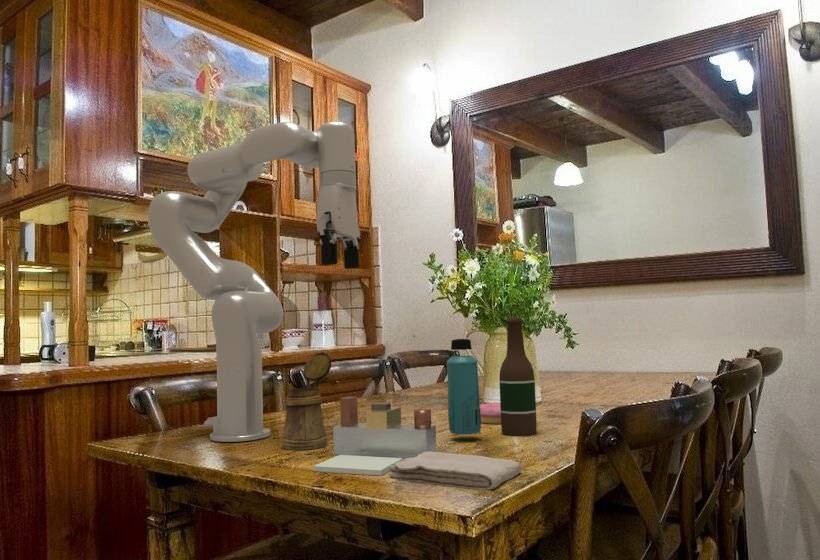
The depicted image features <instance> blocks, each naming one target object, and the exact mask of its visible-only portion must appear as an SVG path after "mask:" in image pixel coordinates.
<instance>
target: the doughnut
mask: <svg viewBox="0 0 820 560" xmlns="http://www.w3.org/2000/svg"><path fill="white" fill-rule="evenodd" d="M480 414H481V424H489V425H501V408H500V402H495V401H493V402H490V403H482V404H480Z"/></svg>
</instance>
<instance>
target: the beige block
mask: <svg viewBox="0 0 820 560" xmlns="http://www.w3.org/2000/svg"><path fill="white" fill-rule="evenodd" d="M370 408H371V409H370V410H367V411H365V423H366V429H389V428H392V427H394V426H396V425H399V424H402V411H401V406H392V405H391V402H374V403H371V404H370Z"/></svg>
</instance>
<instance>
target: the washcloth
mask: <svg viewBox="0 0 820 560" xmlns="http://www.w3.org/2000/svg"><path fill="white" fill-rule="evenodd" d="M521 470H522V465H520V462H517V461H516V460H513V459H512V460H511V459H508V458H507V459H506V458H496V457H495V458H493V457H488V456H484V455H475V454H474V455H473V454H462V453H457V454H456V453H448V452H440V451H436V452H432V451H429V452H423V453H422V454H419V455H418V456H417V457H414V458H403V460H401V461H399V462H397V463H395V465H391V466H390V471H388V476H389V477H391V478H394V479H397V480H400V481H407V482H414V483H421V484H422V483H423V484H430V485H438V486H446V487H456V488H457V487H458V488H463V489H472V490H479V491H489V490H494V489H495V488H497V487H499V486H500V485H501V484H503V483H504V482H507V481H510V480H511V479H513V478H515V477H516V476H518V475H519V474H520V473H521Z"/></svg>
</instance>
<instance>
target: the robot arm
mask: <svg viewBox="0 0 820 560" xmlns="http://www.w3.org/2000/svg"><path fill="white" fill-rule="evenodd" d="M355 152H356V151H355V134H354V129H353V127H352V126H351V125H350V124H349V123H346V122H342V121H329V122H325V123H322V124H321V125H320V126H319V127H318V129H317V132H316V131H312V130H310V129H308V128H306V127H304V126H302V125H299V124H297V123H295V122H290V121H289V122H288V121H282V122H275V123H272V124H268V125H264V126H261V127H258V128H255V129H254V130H252V131H251V132H249V133H248V134H247V135H246V136H245V137H244V138H243V141H242V142H239V143H235V144H232V145H228V146H224V147H221V148H216V149H213V150H208V151H204V152H200V153H199V154H196V155H195V156H193V157H192V158H191V159H190V160H189V162H188V165H187V175H188V177H189V180H190V181H191V182H192V184H194V185H195V186H197V188H200V189H202V190H206V193H205V194H204V195H203V196H200V195H195V194H192V193H188V192H184V191H177V190H168V191H163V192H160V193H157V195H156V196H154V197H153V199H152V200H151V202H150V204H149V207H148V214H147V215H148V216H147V217H148V218H147V219H148V220H147V221H148V226H149V230H150V233H151V236H152V238H153V240H154V241H155V243H156V245H158V247H159V248H160V250H162V251H163V253H164V254H165V255H166V256H167V257H168V258H169V260H171V262H172V263H173V264H174V265H175V266H176V268H177V269H178V271H179V272H180V273H181V275H182V276H183V277H184V278H185V280H186V281H187V282H188V283H189V284H190V286H191V288H192V289H193V290H194V291H195V293H197V295H198V296H199V297H201V298H203V299H204V300H211V301H214V302H213V304H212V308H211V314H210V315H211V316H210V317H211V322H212V327H213V332H214V339H215V348H216V351H215V353H216V400H217V401H216V407H217V408H216V411H217V412H216V415H217V416H212V417H210V416H209V417H207V419H206V420H205V421H204V423H203V426H204V427H206V428H212V429H213V430H212V432H210V434H209V439H210V440H211V441H213V442H219V443H220V442H222V443H237V442H246V441H247V442H249V441H255V440H261V439H265V438H268V437H269V436H271V429H270V428H269V427H268V428H267V427H264V416H263V415H264V412H263V411H264V406H263V405H264V404H263V402H264V400H263V399H264V398H263V396H264V395H263V354H262V347H261V345H260V341H259V337H258V336H257V334H258V335H260V334H268V333H271V332H273V331H275V330H276V329H278V328H279V327H280V326H281V324H282V321H283V319H284V308H283V306H282V303H281V301H280V299H279V298H278V296H277V295H276V293H275V292H274V291H273V290H272V288H270V286H269V285H268V284H267V283H266V282H265V280H264V279H263V278H262V277H261V276H260V275H259V273H257V271H255V269H254V268H253V267H252V266H250V265H248V264H246V263H245V262H243V261H240V260H239V261H238V260H234V259H233V260H232V259H227V258H223V257H221V256H219V255H218V254H217V253H215V251H214V250H213V249H212V248H211V247H210V246H209V244H208V243H207V242H206V241H205V240H204V239H203V238H202V237H201V236H199V235H198V234H197V233H203V234H207V233H208V234H209V233H211V232H214V231H215V230H217V229H218V228H219V227H220V226H221V225H222V224H223V222H224V220H226V218H227V217H228V215H229V213H230V212H231V211H232V209H233V208H234V207H235V205H236V204H237V203H238V200H239V199H240V198H241V196H242V195H243V193H244V191H245V189H246V187H247V184H248V182H252V181H257V180H258V179H259V178H260V177H261V176H262V173H263V169H264V163H268V162H271V161H277V160H287V161H288V162H291V163H294V164H296V165H299V166H301V167H304V168H306V169H317V168H318V180H319V181H318V182H319V183H318V185H319V186H318V187H319V189H318V196H317V206H316V207H317V208H316V209H317V210H316V212H317V213H316V220H315V223H316V228H317V230H316V231H317V234H318V236H319V238H320V239H319V244H320V248H321V251H320V252H321V265H322V266H333V265H337V264H338V263H339V262H338V260H339V259H338V244H337V243H335V242H336V241H337V242H339V241H342V243H343V246H344V250H343V262H344V264H343V265H344V269H346V270H350V269H359V268H360V256H359V255H360V254H359V253H360V251H359V250H360V243H361V239H360V237H361V230H360V228H359V218H358V207H357V201H356V193H355V192H356V191H357V177H356V175H357V174H356V156H355V155H356V154H355ZM195 232H196V233H195Z"/></svg>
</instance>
